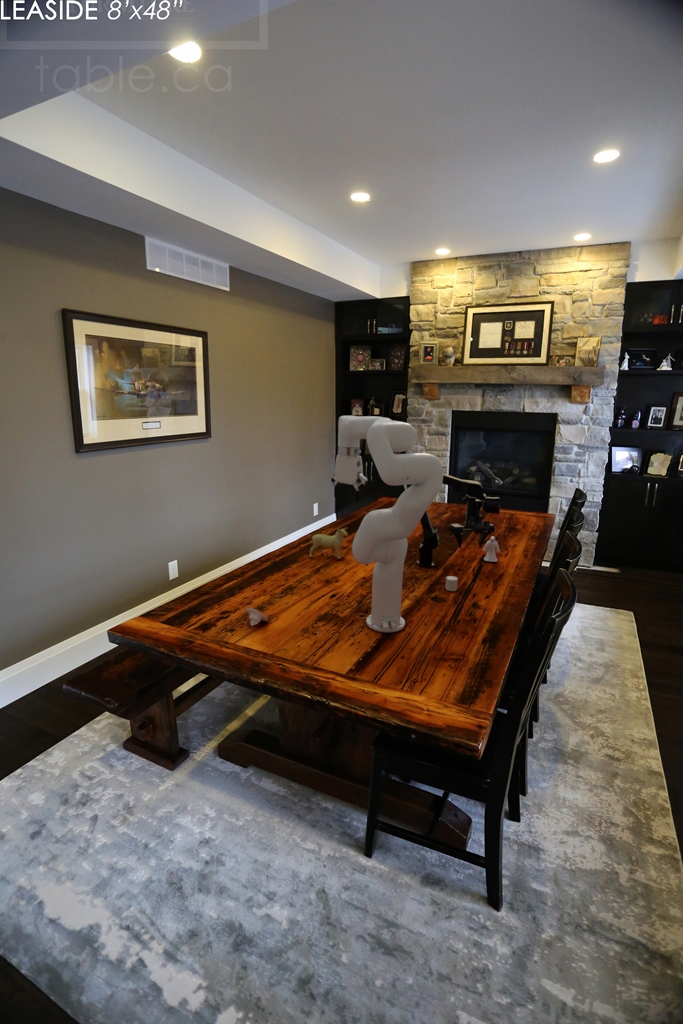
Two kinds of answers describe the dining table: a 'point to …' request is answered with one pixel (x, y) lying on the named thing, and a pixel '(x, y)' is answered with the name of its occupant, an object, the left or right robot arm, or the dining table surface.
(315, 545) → the toy
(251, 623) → the seashell
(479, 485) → the right robot arm
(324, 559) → the dining table surface
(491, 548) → the figurine
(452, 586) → the canister
